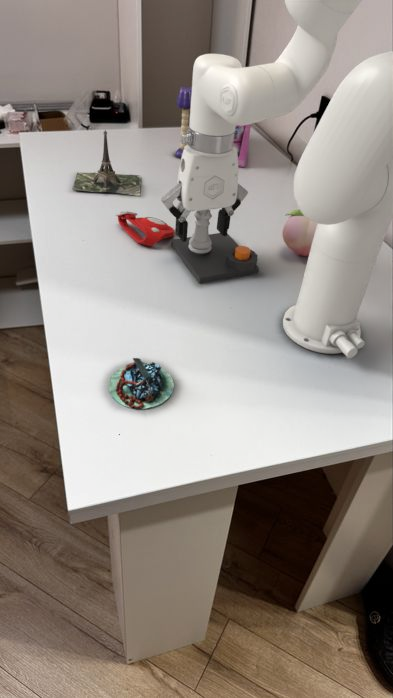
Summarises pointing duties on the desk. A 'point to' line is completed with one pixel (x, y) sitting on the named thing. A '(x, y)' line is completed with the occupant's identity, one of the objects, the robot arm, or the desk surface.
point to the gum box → (241, 143)
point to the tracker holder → (145, 228)
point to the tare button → (242, 253)
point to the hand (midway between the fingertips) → (201, 235)
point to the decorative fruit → (299, 233)
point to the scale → (215, 260)
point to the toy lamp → (184, 114)
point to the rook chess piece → (201, 233)
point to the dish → (141, 385)
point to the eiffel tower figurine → (107, 178)
